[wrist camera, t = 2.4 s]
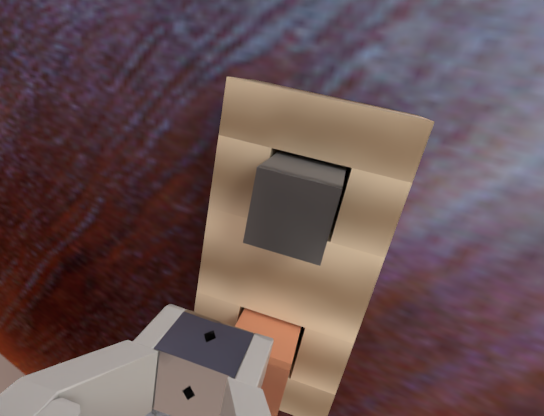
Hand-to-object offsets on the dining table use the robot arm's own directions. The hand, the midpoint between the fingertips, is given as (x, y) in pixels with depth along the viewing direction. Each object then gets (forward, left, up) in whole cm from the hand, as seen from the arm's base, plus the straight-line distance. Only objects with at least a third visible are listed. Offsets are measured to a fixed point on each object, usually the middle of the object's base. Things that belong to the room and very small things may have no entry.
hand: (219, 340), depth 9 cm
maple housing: (+6, 0, -19) cm, 20 cm away
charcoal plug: (0, 0, -15) cm, 15 cm away
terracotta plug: (+12, 0, -15) cm, 19 cm away
